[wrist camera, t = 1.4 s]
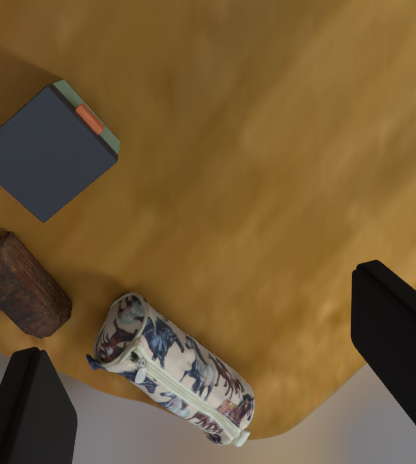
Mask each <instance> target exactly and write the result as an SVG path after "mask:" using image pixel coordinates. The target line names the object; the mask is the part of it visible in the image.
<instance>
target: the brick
mask: <svg viewBox="0 0 416 464" xmlns="http://www.w3.org/2000/svg"><path fill="white" fill-rule="evenodd" d="M0 309H1V310H2V311H3V312H4V313H5V314H6V315H7V316H8V317H9V318H10V319H11V320H12V321H13V322H14V323H15V324H16V325H17V326H18V327H19V328H20V329H21V330H22V331H24V332H25V333H26V334H28V335H33V336H35V337H37V338H43V337H48V336H51V335H52V334H53V333H54V332H55V331H56V330H57V329H59V328H60V327H61V326H62V325H63V324H64V323H65V322H67V321H68V320H69V319H70V317H71V311H72V305H71V303H70V302H69V300H68V299H67V297H66V296H65V295H64V293H63V292H62V290H61V289H60V288H59V287H58V286H57V284H56V283H55V282H54V281H53V279H52V278H51V277H50V276H49V275H48V273H47V272H46V271H45V270H44V269H43V268H42V267H41V265H40V264H39V263H38V262H37V261H36V260H35V258H34V257H33V256H32V255H31V253H30V252H29V251H28V250H27V249H26V248H25V246H24V245H23V244H22V243H21V242H20V241H19V240H18V238H17V237H16V236H15V235H14V234H13V233H11V232H10V233H8V234H6V235H4V236H2V237H0Z"/></svg>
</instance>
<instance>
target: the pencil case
mask: <svg viewBox="0 0 416 464" xmlns="http://www.w3.org/2000/svg"><path fill="white" fill-rule="evenodd" d="M93 354H94V358H95V360H94V359H93V358H92V357H91V356H90V355H88V354H87V355H86V358H87V360H88V362H89V364H90V366H91V368H92V369H94V370H96V369H99V368H102V369H104V370H106V371H109V372H115V373H117V374H119V375H123V376H125V377H126V378H127V379H128V380H129V381H130V382H131V383H133V384H134V385H136V386H137V387H139V388H140V389H142V390H143V391H144V392H145V393H146V394H147V395H148V396H149V397H150V398H152V399H153V400H154V401H155V402H157V403H159V404H160V405H162V406H163V407H164V408H166V409H168V410H170V411H171V412H173V413H175V414H176V415H178V416H180V417H181V418H183V419H185V420H186V421H188V422H190V423H192V424H193V425H195V426H197V427H199V428H201V429H202V430H203V432H204V433H205V435H206V437H207V438H208V439H209V440H210V441H211V442H213V443H214V444H217V445H227V444H230V443H231V442H232V443H233V444H234V445H235V446H237V447H241V446H242V444H243V443H244V442H245V441H246V439H247V438H248V436H249V435H250V433H251V432H250V430H247V431H246V430H245V429H246V428H247V426H248V425H249V423H250V421H251V419H252V417H253V413H254V406H255V399H254V393H253V390H252V388H251V386H250V385H249V384H248V383H247V382H246V381H245V380H244V379H243V378H242V377H241V376H240V375H239V373H238V372H236V371H235V370H234V369H233V368H231V367H230V366H229V365H227V364H226V363H225V362H224V361H222V360H221V359H220V358H219V357H217V356H216V355H215V354H213V353H211V352H210V351H208V350H207V349H206V348H205V347H204V346H202V345H201V344H200V343H199V342H198V341H197V340H195V339H194V338H193V337H191V336H190V335H188V334H187V333H185V332H183V331H182V330H180V329H179V328H178V327H177V326H176V325H175V324H173V323H172V322H171V321H170V320H168V319H167V318H166V317H164V316H163V315H162V314H160V313H159V312H157V311H156V310H154V309H153V308H152V307H151V306H150V305H149V303H148V302H147V300H146V299H145V298H144V297H143V296H141V295H140V294H138V293H136V292H130V293H127V294H125V295H123V296H122V297H120V298H119V299H118V300H115V301H114V303H113V304H112V305H111V307H110V310H109V313H108V316H107V318H106V320H105V322H104V324H103V326H102V327H101V329H100V331H99V333H98V336H97V338H96V341H95V343H94V348H93Z"/></svg>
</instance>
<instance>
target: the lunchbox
mask: <svg viewBox="0 0 416 464" xmlns="http://www.w3.org/2000/svg"><path fill="white" fill-rule="evenodd" d="M119 147H120V141H119V140H118V139H117V138H116V137H115V136H114V134H113V133H112V132H111V131H110V130H109V129H108V128H107V127H106V125H105V124H104V123H103V122H102V121H101V120H100V119H99V118H98V117H97V115H96V114H95V113H94V112H93V111H92V110H91V109H90V108H89V106H88V105H87V104H86V103H85V102H84V101H83V100H82V99H81V98H80V96H79V95H78V94H77V93H76V92H75V91H74V90H73V89H72V87H71V86H70V85H69V84H68V83H67V82H66V81H65V80H64V79H63V80H60V81H58V82H55V83H52V84H50V85H47V86H46V87H45V88H43V89H42V90H41V91H40V92H39V93H38V94H37V95H36V96H35V97H33V98H32V99H31V100H30V101H29V102H28V103H27V104H26V105H25V106H23V107H22V108H21V109H20V110H19V111H18V112H17V113H16V114H15V115H14V116H12V117H11V118H10V119H9V120H8V121H7V122H6V123H5V124H4V125H2V126H1V127H0V187H1V188H2V189H3V190H4V191H5V192H6V193H8V194H9V195H10V196H11V197H12V198H13V199H15V200H16V201H17V202H18V203H21V204H22V205H23V206H24V207H25V208H26V209H28V210H29V211H30V212H31V213H32V214H33V215H35V216H36V217H37V218H38V219H39V220H40V221H42V222H43V223H44V222H45V221H47V220H48V219H49V218H50V217H51V216H53V215H54V214H55V213H56V212H57V211H59V210H60V209H61V208H62V207H63V206H65V205H66V204H67V203H68V202H69V201H71V200H72V199H73V198H74V197H75V196H77V195H78V194H79V193H80V192H81V191H83V190H84V189H85V188H86V187H87V186H89V185H90V184H91V183H92V182H93V181H95V180H96V179H97V178H98V177H99V176H101V175H102V174H103V173H104V172H105V171H107V170H108V169H109V168H110V167H111V166H113V165H114V164H115V163H116V162H117V160H118V154H119Z"/></svg>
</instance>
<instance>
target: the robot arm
mask: <svg viewBox="0 0 416 464" xmlns="http://www.w3.org/2000/svg"><path fill="white" fill-rule="evenodd" d="M351 339H352V342H353V344H354V346H355V348H356V349H357V350H358V352H359V353H360V354H361V355H362V357H363V358H364V359H365V361H366V362H367V363H368V364H369V366H370V367H371V368H372V369H373V371H374V372H375V373H376V375H377V376H378V377H379V378H380V380H381V381H382V382H383V384H384V385H385V386H386V388H387V389H388V390H389V391H390V393H391V394H392V395H393V396H394V398H395V399H396V400H397V402H398V403H399V404H400V406H401V407H402V408H403V409H404V411H405V412H406V413H407V415H408V416H409V417H410V418H411V420H412V421H413V422H414V423H415V425H416V290H414V289H413V288H412V287H411V286H409V285H408V284H407V283H406V282H405V281H403V280H402V279H401V278H400V277H398V276H397V275H396V274H395V273H394V272H392V271H391V270H390V269H389V268H387V267H386V266H385V265H384V264H383V263H381V262H380V261H378V260H373V261H369V262H365V263H361V264H359V265H357V267H356V270H354V271H353V272H352V301H351ZM76 430H77V414H76V411H75V409H74V407H73V405H72V403H71V401H70V399H69V396H68V394H67V392H66V391H65V388H64V386H63V384H62V382H61V380H60V378H59V376H58V374H57V372H56V370H55V368H54V366H53V364H52V362H51V360H50V358H49V356H48V354H47V352H46V351H45V350H41V351H40V350H39V349H38V348H37V347H32V348H28V349H24V350H20V351H16V352H14V353H13V354H12V356H11V359H10V361H9V364H8V366H7V369H6V371H5V374H4V377H3V379H2V382H1V384H0V464H72V458H73V452H74V444H75V438H76Z"/></svg>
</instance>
